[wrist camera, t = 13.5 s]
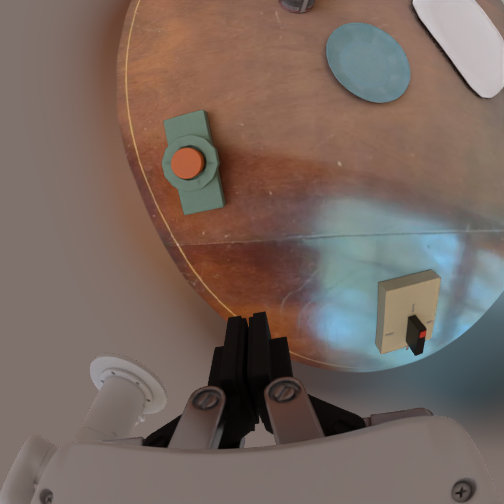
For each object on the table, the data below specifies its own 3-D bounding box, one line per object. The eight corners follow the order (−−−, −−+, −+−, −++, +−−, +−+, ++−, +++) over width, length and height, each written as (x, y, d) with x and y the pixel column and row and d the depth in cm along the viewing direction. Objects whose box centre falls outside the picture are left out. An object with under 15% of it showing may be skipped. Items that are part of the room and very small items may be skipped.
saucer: (382, 122, 30) (390, 120, 28) (306, 71, 28) (309, 65, 26) (413, 63, 26) (421, 60, 24) (344, 15, 25) (349, 8, 22)
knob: (412, 338, 38) (423, 354, 34) (405, 341, 38) (415, 357, 34) (415, 314, 36) (427, 329, 32) (407, 316, 36) (419, 332, 32)
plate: (449, -22, 17) (453, -25, 15) (515, 67, 22) (520, 66, 21) (394, 1, 22) (398, -3, 21) (477, 111, 28) (483, 111, 26)
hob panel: (423, 331, 41) (430, 341, 38) (375, 346, 42) (381, 357, 39) (431, 269, 37) (441, 277, 34) (378, 282, 38) (386, 292, 35)
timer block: (230, 202, 34) (227, 208, 30) (183, 212, 35) (175, 219, 31) (211, 110, 30) (206, 105, 27) (164, 123, 31) (153, 120, 27)
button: (207, 173, 30) (204, 175, 28) (178, 180, 30) (174, 182, 28) (201, 144, 28) (197, 144, 27) (172, 152, 29) (167, 152, 27)
